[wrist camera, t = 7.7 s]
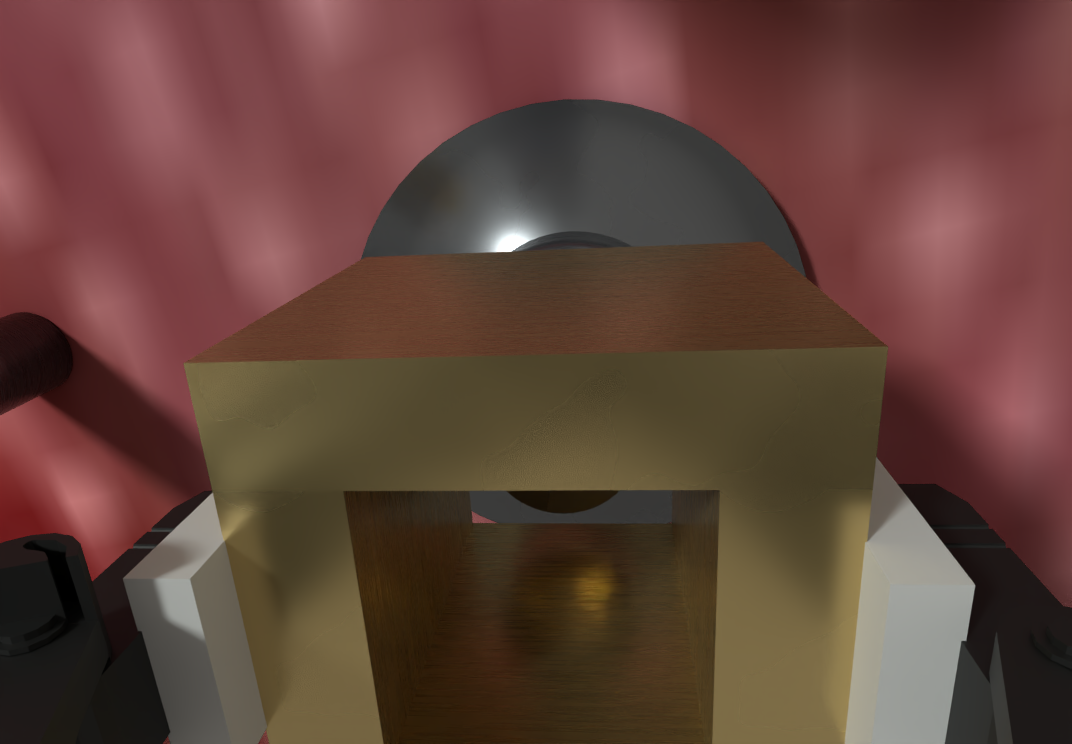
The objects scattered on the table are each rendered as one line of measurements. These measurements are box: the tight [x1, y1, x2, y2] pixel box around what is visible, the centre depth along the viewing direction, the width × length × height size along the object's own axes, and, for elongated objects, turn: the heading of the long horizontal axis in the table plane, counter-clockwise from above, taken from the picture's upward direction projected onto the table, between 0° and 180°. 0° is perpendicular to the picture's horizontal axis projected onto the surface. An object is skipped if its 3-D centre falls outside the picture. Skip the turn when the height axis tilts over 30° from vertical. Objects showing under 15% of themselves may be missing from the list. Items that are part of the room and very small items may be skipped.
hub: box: [361, 100, 806, 524], centre depth 17 cm, size 12×12×7 cm
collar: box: [184, 242, 888, 744], centre depth 11 cm, size 7×7×6 cm
